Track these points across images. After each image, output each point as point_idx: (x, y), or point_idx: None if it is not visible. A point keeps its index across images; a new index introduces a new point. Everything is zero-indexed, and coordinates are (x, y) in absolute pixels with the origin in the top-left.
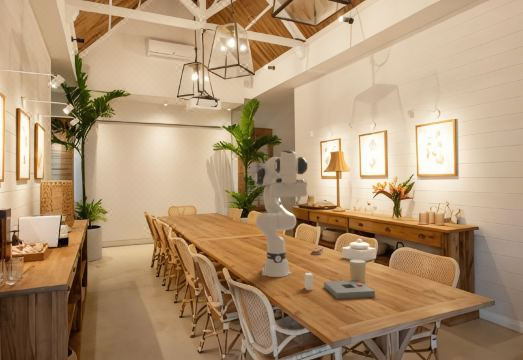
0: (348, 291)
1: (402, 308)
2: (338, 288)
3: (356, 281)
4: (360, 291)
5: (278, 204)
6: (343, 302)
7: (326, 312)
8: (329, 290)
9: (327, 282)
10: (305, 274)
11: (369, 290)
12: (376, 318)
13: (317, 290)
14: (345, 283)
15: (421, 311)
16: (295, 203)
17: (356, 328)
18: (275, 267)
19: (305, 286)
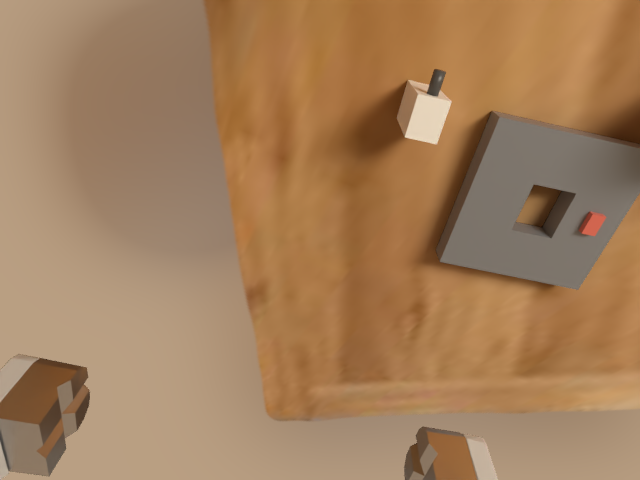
0: (489, 262)
1: (545, 365)
2: (483, 222)
3: (634, 171)
4: (527, 277)
5: (13, 369)
6: (432, 280)
7: (333, 320)
8: (466, 180)
9: (505, 134)
10: (412, 110)
11: (566, 280)
12: (426, 383)
13: None
14: (564, 178)
15: (567, 391)
16: (427, 458)
17: (344, 402)
18: None
19: (404, 95)
